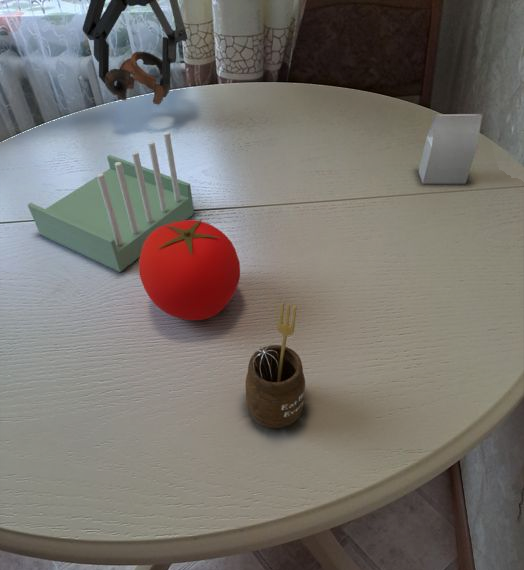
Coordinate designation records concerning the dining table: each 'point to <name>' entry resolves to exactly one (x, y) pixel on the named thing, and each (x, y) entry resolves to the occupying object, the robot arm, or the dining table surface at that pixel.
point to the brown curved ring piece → (136, 77)
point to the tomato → (189, 269)
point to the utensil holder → (276, 380)
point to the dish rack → (117, 210)
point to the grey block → (450, 148)
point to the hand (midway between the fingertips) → (134, 80)
